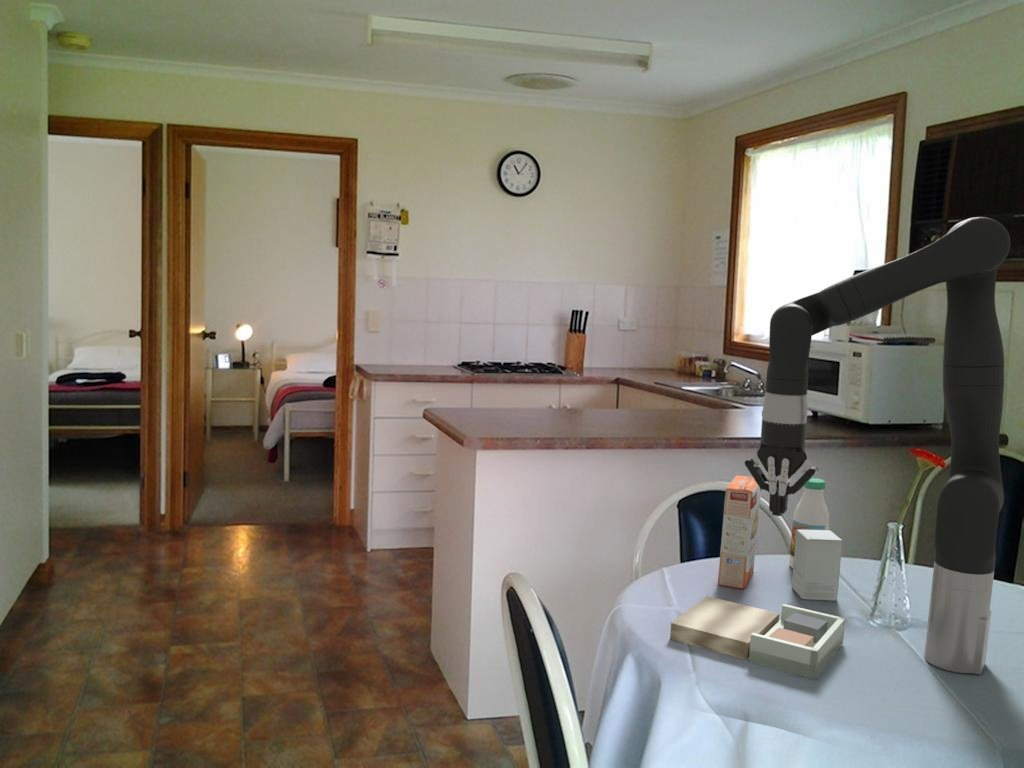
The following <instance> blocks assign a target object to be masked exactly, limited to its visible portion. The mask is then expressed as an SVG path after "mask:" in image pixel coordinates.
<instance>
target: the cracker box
mask: <svg viewBox="0 0 1024 768" xmlns="http://www.w3.org/2000/svg"><path fill="white" fill-rule="evenodd" d="M761 494H762V489H761V488H760V487H759V486H758V484H757V482H756V481H755V479H754V478H753V476H747V475H738V474H737V475H735V476H734V478H733V479H732V480H731V481H730V483H729V484H728V485H727V487H726V488H725V495H724V506H723V518H722V529H721V530H722V532H721V539H720V540H721V541H720V542H721V543H720V550H719V551H720V553H719V562H718V563H719V567H718V575H717V585H718V586H724V587H729V588H734V589H739V590H745V588H746V586H747V584H748V582H749V580H750V578H751V576H752V574H753V572H754V570H755V569H754V568H755V557H756V548H757V547H756V546H757V536H758V526H759V525H758V524H759V514H760V505H761V504H760V503H761V502H760V501H761Z"/></svg>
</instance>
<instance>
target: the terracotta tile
mask: <svg viewBox="0 0 1024 768" xmlns="http://www.w3.org/2000/svg"><path fill="white" fill-rule="evenodd" d="M768 637H772V638H776V639H780V640H784V641H788V642H792V643H796V644H800V645H803V646H807V647H811V648H813V639H814V637H813V636H809V635H806V634H802V633H798V632H794V631H790V630H787V629H783V628H778V629H776V630H775V631H774V632H773V633H772V634H770V635H769V636H768Z"/></svg>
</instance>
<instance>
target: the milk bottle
mask: <svg viewBox="0 0 1024 768" xmlns="http://www.w3.org/2000/svg"><path fill="white" fill-rule="evenodd" d="M825 488H826V481H825V480H824V479H820V478H817V477H816V478H814V477H812V478H811V479H810V480H809V481H808V482H807V483H806V484H805V485H804V486H803V487H802V489H803V493H802V496H801V498H800V500H799V502H798V504H797V505H796V507H795V509H794V512H793V516H792V517H793V518H792V525H791V536H790V549H789V559H788V560H789V561H788V562H789V563H788V564H789V566H790V567H791V568H792V569H793V567H794V554H795V542H796V531H797V529H798V530H830V515H829V511H828V507H827V504H826V501H825V496H824V492H825V491H826V490H825Z"/></svg>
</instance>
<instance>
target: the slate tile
mask: <svg viewBox="0 0 1024 768" xmlns="http://www.w3.org/2000/svg"><path fill="white" fill-rule="evenodd" d="M827 623H828V621H825V620H821V619H817V618H813V617H810V616H806V615H802V614H798V613H793V614H792V615H790V616H789V617H788V618H786V619H785V620H784V626H783V629H787V630H790V631H794V632H798V633H802V634H806V635H809V636H813V637H814V639H813V642H814V643H817V642H818V641H819V640H820V639H821V638H822V637H823V635H824V634H825V633H826V632H827Z"/></svg>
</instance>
